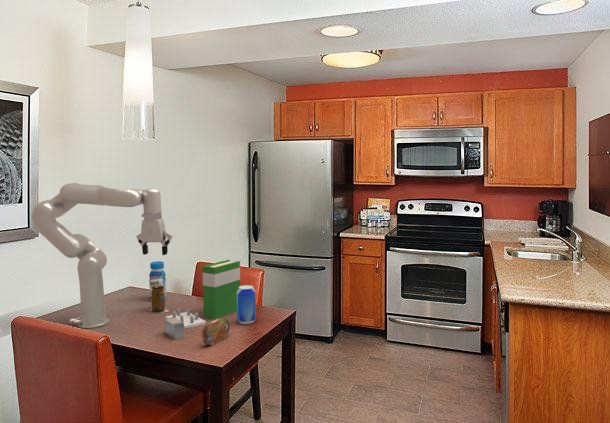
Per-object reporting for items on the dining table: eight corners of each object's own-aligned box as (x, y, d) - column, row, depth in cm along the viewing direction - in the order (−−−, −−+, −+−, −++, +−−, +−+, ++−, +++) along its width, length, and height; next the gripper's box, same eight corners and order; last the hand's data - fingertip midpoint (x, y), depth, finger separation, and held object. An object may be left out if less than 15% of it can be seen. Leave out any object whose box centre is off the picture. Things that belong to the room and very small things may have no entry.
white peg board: (182, 329, 201) (182, 319, 200) (165, 318, 214) (165, 310, 214) (205, 323, 208) (205, 314, 207) (187, 314, 221) (187, 305, 221)
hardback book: (229, 307, 232) (228, 259, 230) (240, 309, 229) (239, 261, 226) (203, 316, 218) (202, 266, 215) (215, 319, 214) (214, 267, 211)
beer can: (238, 325, 205) (237, 290, 204) (236, 319, 213) (235, 285, 212) (257, 323, 208) (256, 288, 206) (254, 318, 216) (253, 284, 214)
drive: (174, 339, 189) (174, 324, 188) (164, 333, 197) (164, 318, 196) (184, 337, 192) (184, 322, 191) (174, 330, 199) (173, 316, 199)
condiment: (162, 307, 232) (161, 283, 231) (169, 311, 226) (168, 287, 225) (148, 310, 228) (147, 286, 227) (154, 314, 221) (154, 289, 220)
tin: (207, 348, 180) (206, 327, 179) (200, 346, 181) (200, 325, 181) (230, 335, 193) (229, 315, 193) (224, 334, 195) (223, 314, 194)
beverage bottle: (170, 299, 246) (168, 261, 244) (157, 303, 239) (156, 264, 237) (159, 296, 251) (157, 260, 249) (146, 300, 244) (144, 262, 242)
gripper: (130, 217, 207) (133, 255, 208) (165, 217, 202) (168, 256, 204) (140, 215, 214) (142, 252, 216) (174, 215, 210) (176, 253, 211)
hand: (155, 254), depth 210 cm, fingers open, 9 cm apart
